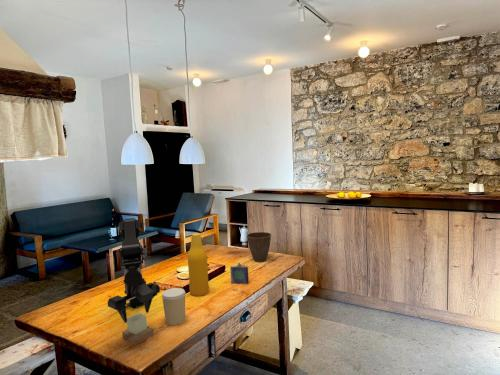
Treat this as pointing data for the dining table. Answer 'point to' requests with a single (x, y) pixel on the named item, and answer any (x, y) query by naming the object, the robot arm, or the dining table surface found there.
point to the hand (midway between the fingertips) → (136, 317)
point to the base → (137, 335)
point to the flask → (239, 274)
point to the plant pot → (259, 245)
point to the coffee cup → (174, 306)
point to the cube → (136, 323)
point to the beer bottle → (197, 267)
